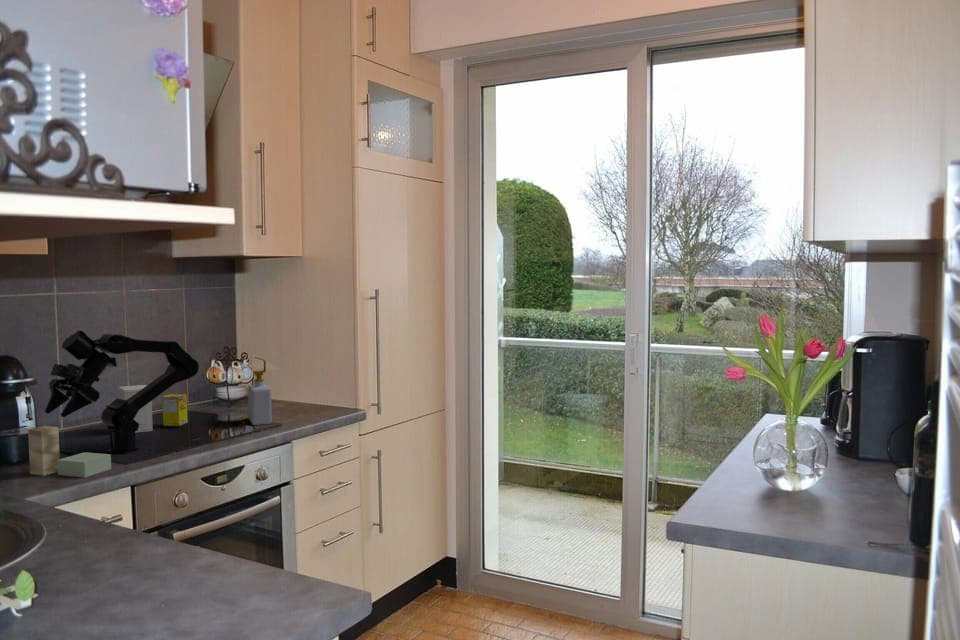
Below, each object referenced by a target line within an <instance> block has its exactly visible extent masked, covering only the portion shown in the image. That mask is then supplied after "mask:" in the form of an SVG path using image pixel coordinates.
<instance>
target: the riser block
mask: <svg viewBox="0 0 960 640" xmlns="http://www.w3.org/2000/svg"><path fill="white" fill-rule="evenodd" d="M57 461H58V472H57V475H58V476H65V477H75V478H87V477H91V476H95V475H97V474H99V473H103V472H107V471H109V470H112V454H108V453H98V452H96V453H95V452H88V451H87V452H81V453H77V454H73V455H70V456H67V457H62V458H60V459H59V460H57Z"/></svg>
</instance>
